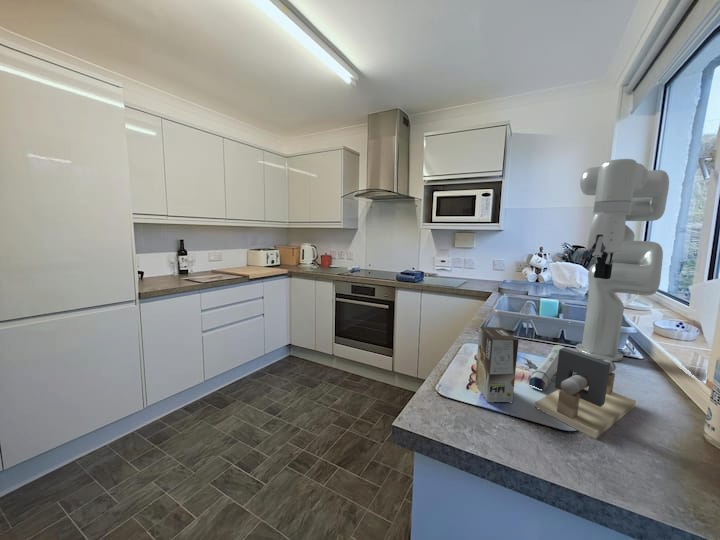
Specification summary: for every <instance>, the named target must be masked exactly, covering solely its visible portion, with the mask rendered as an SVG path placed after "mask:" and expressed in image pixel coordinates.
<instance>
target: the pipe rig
mask: <svg viewBox="0 0 720 540" xmlns="http://www.w3.org/2000/svg"><path fill="white" fill-rule="evenodd" d="M603 361H606V362H609V363H610V370H609V376H608V383H607V390H606V396H605V403H604V405H603V406H601V407H599V406H597V405H594V404H592V403H590V402H587V401H585V400H583V399H581V398H580V394H578V393H577V392H579V391H580V390H582V389H585V390H587V391H588V388H589V381H590V378H589V377H587V376H584V375H581V374H579V373H576V372H575V373H574V375H572V377H570V378H568V379H566V380H564V381H562V382H561V388H562V390H560V389H557V390H555V391H553V392H550V393H549V394H547V395H545V396H543V397H542V398H540V399H537V401H535V402H534V407H535V406H536V407H537V408H539V409H540V410H542V411H544V412H546V413H548V414H550V415H551V416H550V415H549V416H550V417H552V416H553V417H552V418H554V417H555V418H554V419H556V418H557V419H556V420H558V419H559V420H558V421H559V422H561V421H562V422H561V423H563V422H565V423H566V424H565V423H564V424H565V425H567V424H568V425H567V426H569V425H570V426H569V427H571V426H572V427H571V428H573V427H574V428H573V429H575V428H576V429H575V430H577V431H579V432H581V433H583V434H585V435H587V436H589V437H591V438H593V439H595V440H596V439H598V438H599V437H600V436H601V435H603V434H604V433H605V432H606V431H607V430H608V429H610V428H611V427H612V426H613V425H614V424H616V423H617V422H618V421H620V420H621V419H622V418H624V417H625V416H626V415H627V414H628V413H630V411H632V410H633V409H634V408H635V407H636V404H637V403H636V402H637V400H635V399H632V398H630V397H627V396H624V395H622V394H619V393H617V392H614V391H613V389H614V384H615V382H614V381H615V377H616V373H614V371H615V370H616V368H617V366H616V364H615V363H614V361H610V360H603ZM540 410H539V411H540ZM542 411H541V412H542ZM544 412H543V413H544ZM546 413H545V414H546ZM548 414H547V415H548Z"/></svg>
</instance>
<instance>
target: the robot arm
mask: <svg viewBox="0 0 720 540" xmlns="http://www.w3.org/2000/svg"><path fill="white" fill-rule="evenodd" d="M579 186H580V190H581V191H582V193H583V195H585V196H595V198H594V203H593V205H594V206H593V211H592V216H593V217H592V221H591V225H590V228H589V234H588V239H587V243H586V244H587V246H586V250H587V251H588V252H591V253H592V252H594V255H593V257H594V258H595V263H594V264H592V265H591V266H590V267H589V269H588V273H587V278H588V281H587V282H588V297H587V305H586V313H585V320H584V327H583V328H584V329H583V334H582V341H581V343H577V344H576V346H575V349H576V352H578V353H581V354H585V355H588V356H591V357H594V358H597V359H600V360H610V361H612V362H619V361H622V360H623V358H624V355H623V354H622V353H621V352H620V351H618V349H619V343H620V338H621V331H622V330H621V329H622V324H623V318H624V311H625V310H624V309H625V306H624V303H623V300H622V299H620V297H619V296H618V295H617V294H619V293H620V294H628V295H636V296H653V295H655V294H656V293H657V292H658V290H659V288H660V285H661V276H662V268H663V258H664V251H663V247H662V245H661V244H659V243H658V242H655V241H650V240H649V241H647V240H635V237H636V235H635V232H634V231H633V230H632V229H631V228H630V227H629V225H627V224H626V222H652V221H653V222H654V221H657V220H660V219H661V218H662V217H663V215H664V214H665V210H666V206H667V201H668V195H669V187H670V176H669V175H668V173H667V172H666V171H665V170H662V169H653V170H648V169H647V168H646V167H645V165H643V164H642V163H639V162H637V160H635V159H632V158H620V159H619V158H618V159H611V160H607V161H605V162H602V163H601V165H600V166H594V167H589V168H587V169H585V170H584V172H583V173H582V174H581V177H580V180H579Z"/></svg>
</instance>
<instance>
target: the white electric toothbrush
mask: <svg viewBox="0 0 720 540" xmlns="http://www.w3.org/2000/svg"><path fill="white" fill-rule="evenodd" d="M562 348H565V346H563V345H559V344H558V345H557V344H555V345H553V347H552V348H551V352H549V353H548V354H547V357H546V358H545V360H544V361H542V363H541V364H540V365H539V367H538V368H536V370H534V371H531V372H532V373H531V376H530V377H529V379H528V385H529V386H530V385H532V386H535V387H537V388H539V389H542V390H543V391H545V390H546V389H547V387H548V386H550V385H551V380H552V378H553V376H554V375H555V373H556V372H557V365H558V357H559V349H562Z"/></svg>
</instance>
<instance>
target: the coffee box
mask: <svg viewBox="0 0 720 540" xmlns="http://www.w3.org/2000/svg"><path fill="white" fill-rule="evenodd" d="M478 329H479V331H478V343H477V357H476V369H475V381H474V382H475V383H476V384H475V383H474V384H475V386H476V385H477V386H476V388H477V389H478V388H479V389H478V391H479V392H480V391H481V392H480V394H481V395H482V394H483V395H482V396H483V398H484V397H485V398H484V400H485V401H486V400H487V401H488V402H487V401H486V402H487V403H494V402H512V403H513V401H514V400H513V398H514V390H515V389H514V388H515V381H516V380H515V379H516V370H517V359H518V349H519V339H518V338H516V337H515V336H514V335H513V334H511V333H510V332H509V331H507V330H506V329H505V328H503V327H498V326H495V327H493V326H492V327H491V326H487V327H485V326H484V327H483V326H481V327H479V328H478Z"/></svg>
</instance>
